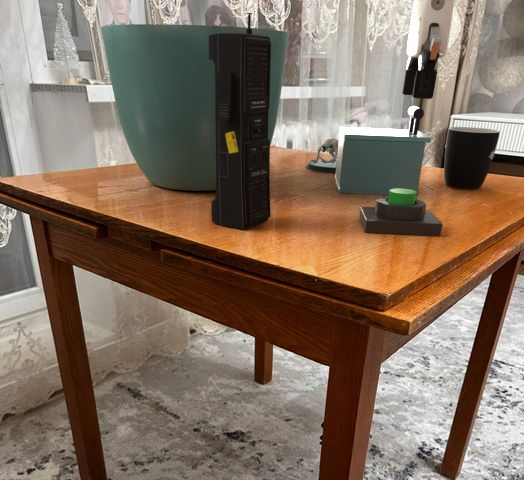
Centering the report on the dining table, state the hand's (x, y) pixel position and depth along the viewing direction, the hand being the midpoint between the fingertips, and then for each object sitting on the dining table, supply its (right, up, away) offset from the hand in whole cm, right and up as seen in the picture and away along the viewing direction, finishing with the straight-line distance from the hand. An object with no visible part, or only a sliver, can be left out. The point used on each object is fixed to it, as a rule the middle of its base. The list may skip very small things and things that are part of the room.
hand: (416, 96), depth 92 cm
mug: (+13, -11, +13) cm, 21 cm away
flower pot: (-38, -13, +7) cm, 41 cm away
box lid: (-5, -6, +3) cm, 8 cm away
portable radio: (-29, -26, -17) cm, 43 cm away
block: (-7, -26, -17) cm, 32 cm away
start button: (-7, -23, -18) cm, 30 cm away
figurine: (-12, -4, +24) cm, 27 cm away
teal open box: (-6, -13, +7) cm, 16 cm away
